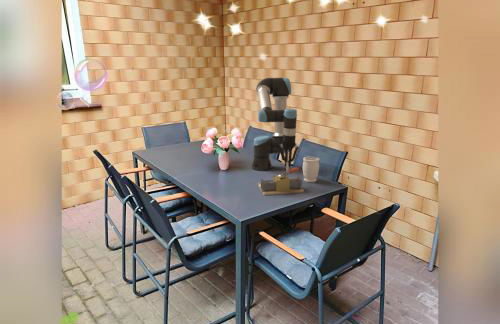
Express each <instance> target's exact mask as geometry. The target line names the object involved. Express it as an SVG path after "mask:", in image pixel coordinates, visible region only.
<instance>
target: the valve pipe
mask: <svg viewBox="0 0 500 324" xmlns="http://www.w3.org/2000/svg"><path fill="white" fill-rule="evenodd" d="M260 183H261V190H262V191H263V192H265V191H271V190H276V192H279V191H289V189H303V187H302V184H303V180H302V178H300V177H299V176H297V177H296V178H289V177H288V176H287V175H284V178H279V177H278V175H273V176H272V179H270V180H269V179H268V180H264V179H263V178H261V179H260ZM261 190H260V191H261ZM262 191H261V192H262Z"/></svg>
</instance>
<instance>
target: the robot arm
mask: <svg viewBox="0 0 500 324" xmlns="http://www.w3.org/2000/svg"><path fill="white" fill-rule="evenodd" d="M255 88H256V89H255V92H256V95H257V97H258V103H259V110H258V112H257V120H258V122H260V123H274V133H273V134H272V137H270V135H259V136H256V137H254V139H253V158H252V161H251V165H250V166H251V168H250V169H252V170H255V171H268V170H271V169H272V167H273V165H272V161H271V159H270V158H271V157H270V156H271V155H276V154H277V155H279V154H280V155H281V161H284V167H285V171H288V170H289V169H290V168H291V166H292V162H294V161H295V159H296V156H297V152H298V150H299V149H300V146H298V145H297V142H296V135H297V118H298V111H297V109H295V108H287V101H288V98H290V97H289V95H291V94H292V85H291V81H290V78H287V77H266V78H263V79H262V80H261V81H259V82H258V84H257V85H256V87H255ZM270 95H271V96H270ZM271 97H272V99H274V109H273V106H272V101H271ZM293 150H294V151H293Z"/></svg>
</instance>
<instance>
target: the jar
mask: <svg viewBox="0 0 500 324" xmlns="http://www.w3.org/2000/svg"><path fill="white" fill-rule="evenodd" d="M302 160H303V163H302V173H303V174H302V175H303V177H304V178H303V181H304V182H307V183H315V182H317V179H318V178H317V177H318V175H319V170H320V163H319V162H320V157H317V156H304V157H303V158H302Z"/></svg>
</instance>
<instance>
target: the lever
mask: <svg viewBox="0 0 500 324" xmlns="http://www.w3.org/2000/svg"><path fill="white" fill-rule="evenodd" d="M299 170H300V167H297V166H295V167H292V168H289V170H288V171H286V170H285V171H283V172H281V173H280V174H278V175H277V176H278V177H279V178H284V175H286V176H287V175H289V174H294V173H296V172H299Z"/></svg>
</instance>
